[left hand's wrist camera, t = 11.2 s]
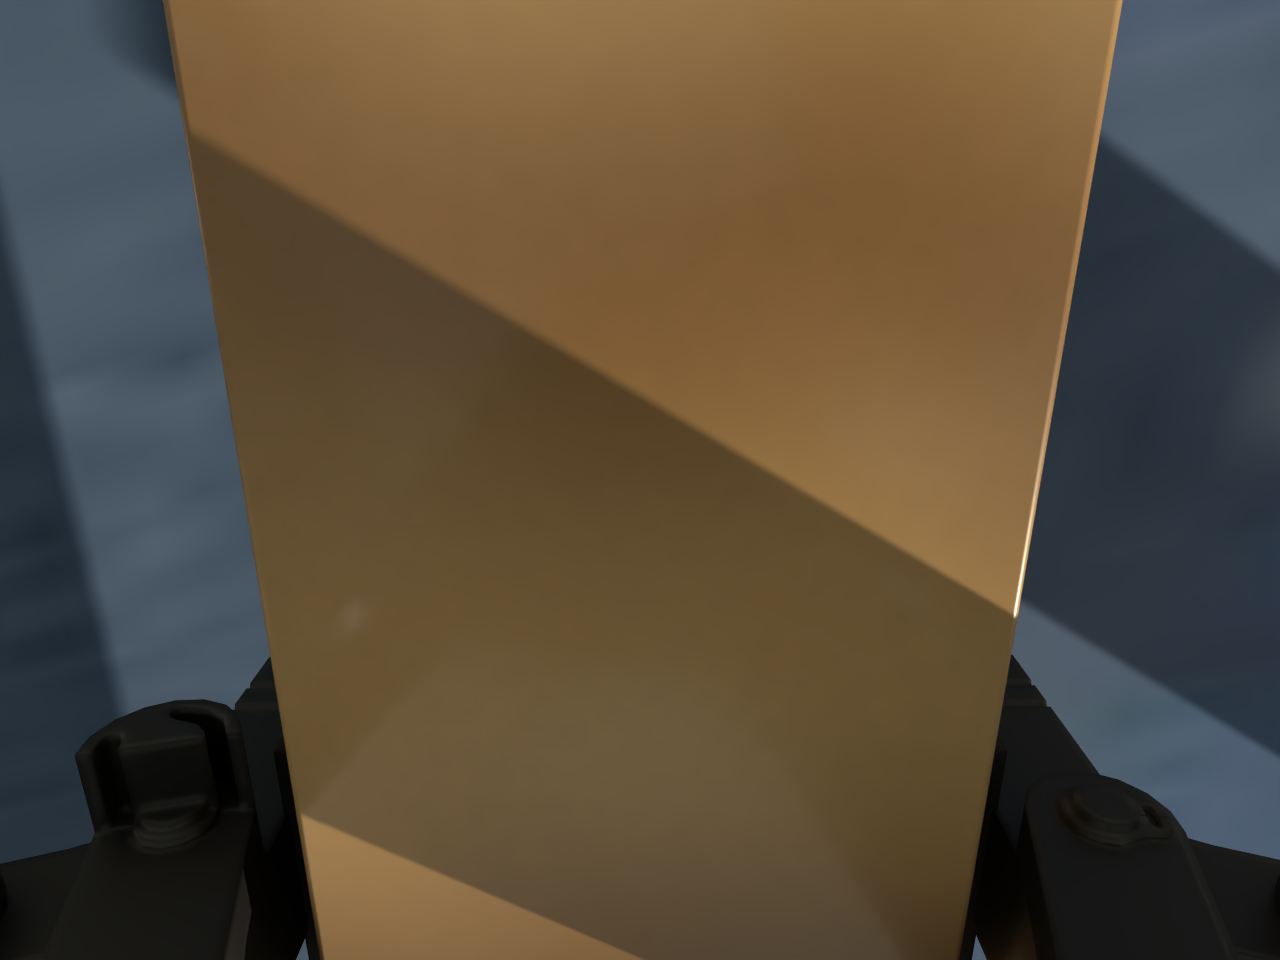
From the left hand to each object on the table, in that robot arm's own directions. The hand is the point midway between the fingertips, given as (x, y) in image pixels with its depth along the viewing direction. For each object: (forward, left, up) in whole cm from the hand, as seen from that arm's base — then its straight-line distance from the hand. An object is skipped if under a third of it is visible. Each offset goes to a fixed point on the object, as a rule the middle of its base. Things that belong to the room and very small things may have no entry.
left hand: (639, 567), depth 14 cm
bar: (+7, +22, -1) cm, 24 cm away
